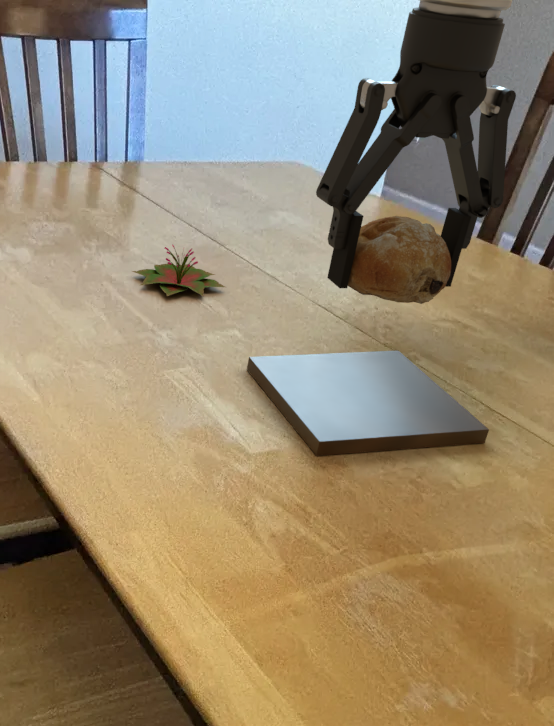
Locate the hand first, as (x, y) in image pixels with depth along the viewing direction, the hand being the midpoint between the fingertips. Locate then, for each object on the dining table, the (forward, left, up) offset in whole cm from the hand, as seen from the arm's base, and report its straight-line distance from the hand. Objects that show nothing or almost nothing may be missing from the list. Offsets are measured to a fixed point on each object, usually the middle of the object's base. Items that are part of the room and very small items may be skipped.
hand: (389, 282), depth 82 cm
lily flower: (+9, -33, -13) cm, 37 cm away
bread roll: (0, 0, 0) cm, 1 cm away
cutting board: (0, +1, -12) cm, 13 cm away
